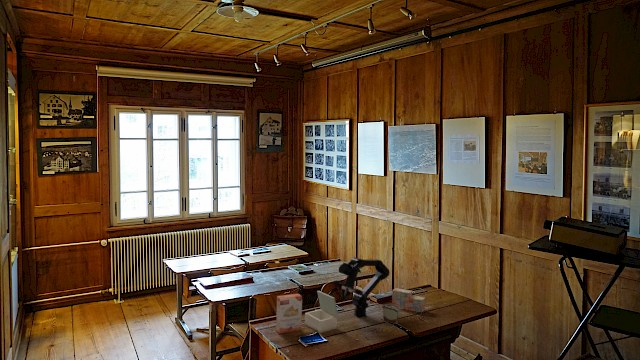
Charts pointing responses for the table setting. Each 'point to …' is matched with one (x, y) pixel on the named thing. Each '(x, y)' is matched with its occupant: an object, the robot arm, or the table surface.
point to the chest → (320, 320)
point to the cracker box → (289, 313)
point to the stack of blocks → (407, 300)
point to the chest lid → (327, 303)
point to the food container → (390, 313)
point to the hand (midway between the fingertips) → (343, 301)
